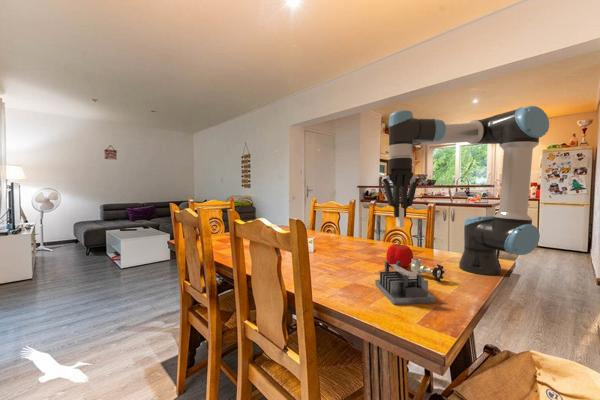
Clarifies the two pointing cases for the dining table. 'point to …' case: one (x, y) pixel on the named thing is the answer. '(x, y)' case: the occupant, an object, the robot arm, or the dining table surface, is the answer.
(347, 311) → the dining table surface
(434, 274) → the valve
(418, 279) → the heatsink
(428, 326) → the dining table surface
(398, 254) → the tomato
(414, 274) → the grey long bar
